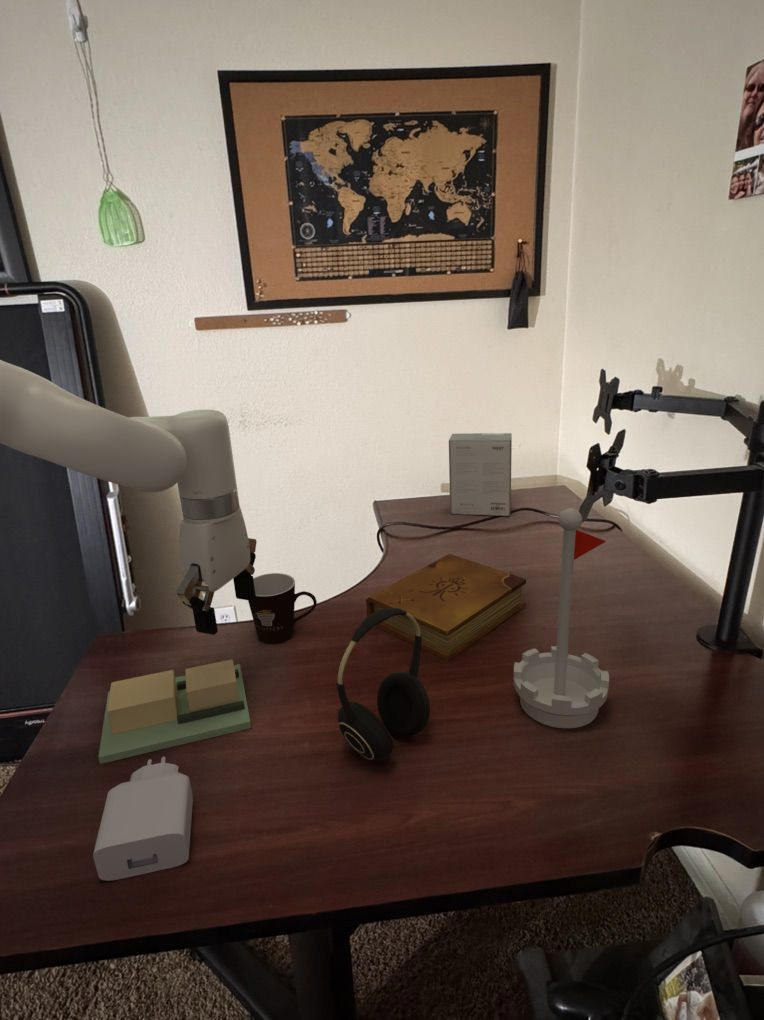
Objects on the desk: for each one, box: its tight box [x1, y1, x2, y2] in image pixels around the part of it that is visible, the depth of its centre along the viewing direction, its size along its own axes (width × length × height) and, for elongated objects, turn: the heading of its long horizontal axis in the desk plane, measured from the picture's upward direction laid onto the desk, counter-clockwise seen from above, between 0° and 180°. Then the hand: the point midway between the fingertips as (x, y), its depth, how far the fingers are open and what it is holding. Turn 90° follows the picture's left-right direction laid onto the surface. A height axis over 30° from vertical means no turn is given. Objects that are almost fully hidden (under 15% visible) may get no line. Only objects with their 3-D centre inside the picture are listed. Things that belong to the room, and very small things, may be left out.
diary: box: [365, 553, 527, 662], centre depth 115 cm, size 23×19×6 cm
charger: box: [92, 756, 194, 882], centre depth 74 cm, size 5×9×15 cm
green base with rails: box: [98, 663, 252, 765], centre depth 92 cm, size 20×15×5 cm
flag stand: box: [512, 507, 610, 729], centre depth 86 cm, size 13×13×30 cm
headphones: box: [336, 608, 431, 761], centre depth 81 cm, size 9×15×20 cm, turn 135°
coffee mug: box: [247, 572, 318, 645], centre depth 109 cm, size 12×9×10 cm
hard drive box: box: [448, 432, 513, 517], centre depth 161 cm, size 16×8×20 cm, turn 77°
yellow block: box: [185, 658, 239, 713], centre depth 93 cm, size 7×6×4 cm
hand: (227, 615), depth 90 cm, fingers open, 9 cm apart
